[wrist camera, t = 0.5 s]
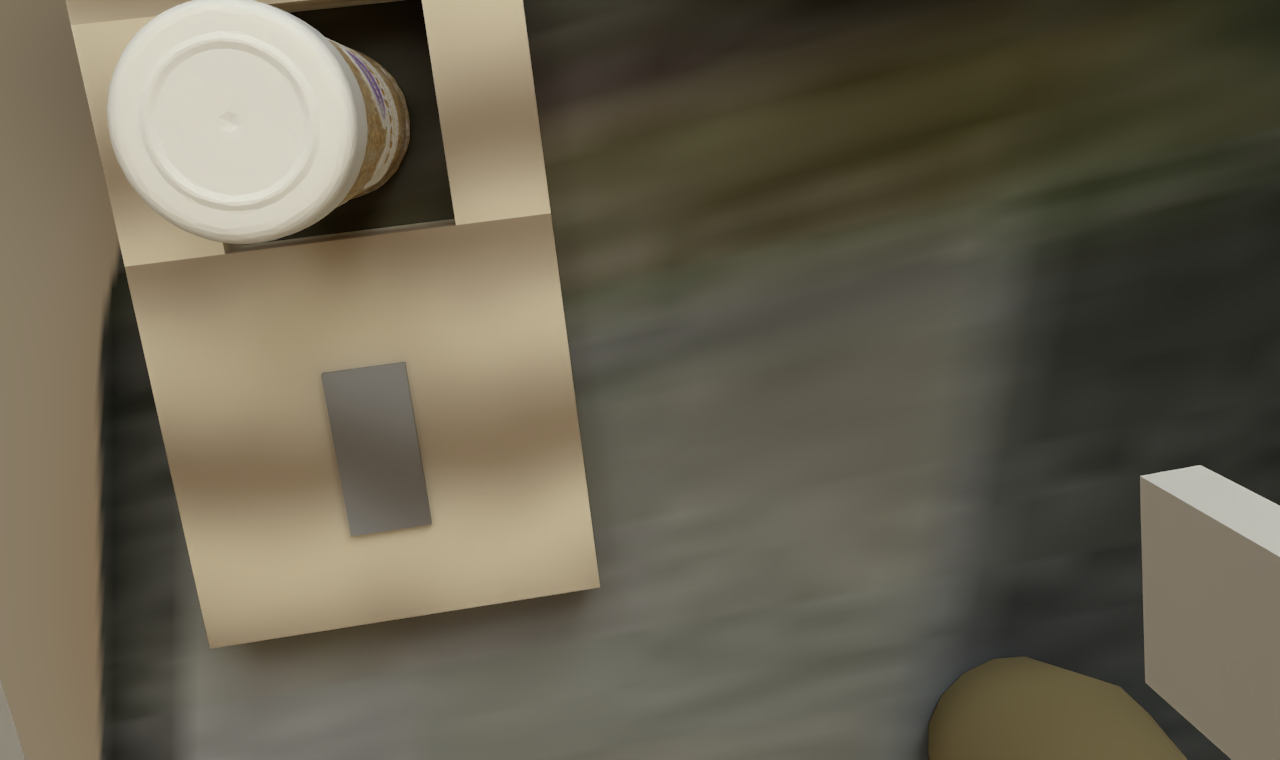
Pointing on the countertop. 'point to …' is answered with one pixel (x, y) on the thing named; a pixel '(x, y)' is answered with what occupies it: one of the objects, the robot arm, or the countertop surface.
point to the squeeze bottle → (1041, 717)
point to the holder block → (367, 369)
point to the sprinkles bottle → (250, 120)
